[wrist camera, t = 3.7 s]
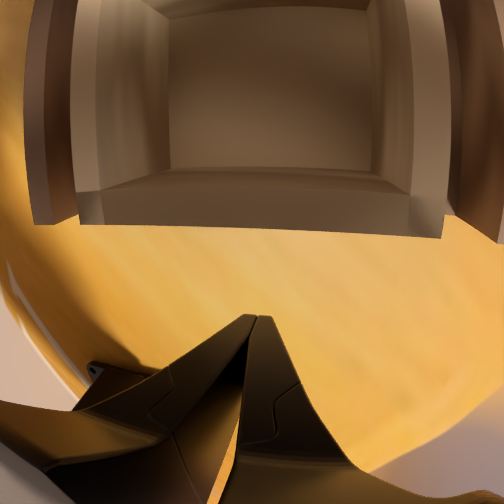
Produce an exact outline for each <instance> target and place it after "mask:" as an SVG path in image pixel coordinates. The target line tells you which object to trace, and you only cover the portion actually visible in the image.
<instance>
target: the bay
mask: <svg viewBox="0 0 504 504" xmlns="http://www.w3.org/2000/svg"><path fill="white" fill-rule="evenodd" d="M439 2H440V7H441V12H442V17H443V23H444V30H445V37H446V44H447V53H448V62H449V74H450V91H451V150H450V167H449V180H448V190H447V199H446V208H445V214H446V215H455V216H457V217H459V218H460V219H462V220H463V221H465V222H466V223H468V224H469V225H471V226H472V227H474V228H475V229H477V230H478V231H480V232H481V233H483V234H484V235H486V236H487V237H488V238H490V239H491V240H493V241H494V242H496V243H497V244H504V0H439ZM77 5H78V0H35V3H34V8H33V13H32V18H31V24H30V30H29V37H28V45H27V54H26V64H25V78H24V108H23V115H24V146H25V160H26V171H27V180H28V189H29V196H30V203H31V209H32V215H33V221H34V225H55V224H57V223H60V222H62V221H64V220H66V219H68V218H71V217H73V216H75V215H77V214H79V213H78V206H77V198H76V190H75V182H74V172H73V160H72V146H71V124H70V81H71V60H72V46H73V36H74V27H75V19H76V11H77Z"/></svg>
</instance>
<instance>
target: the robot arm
mask: <svg viewBox="0 0 504 504" xmlns="http://www.w3.org/2000/svg"><path fill="white" fill-rule="evenodd" d="M86 367H87V370H88V373H89V375H90V377H91V380H92V382H93V384H92V385H91V386H90V387H89V389H88V390H87V391H86V392H85V394H84V395H83V396H82V398H81V399H80V400H79V401H78V403H77V404H76V405H75V407H74V408H73V409H72V411H58V410H50V409H44V408H38V407H32V406H26V405H21V404H16V403H11V402H6V401H2V400H0V504H207V501H208V499H209V496H210V493H211V491H212V488H213V486H214V483H215V481H216V478H217V475H218V473H219V470H220V467H221V465H222V462H223V459H224V457H225V454H226V451H227V449H228V446H229V443H230V441H231V438H232V435H233V432H234V429H235V427H236V424H237V421H238V418H239V426H238V434H237V442H236V451H235V458H234V463H233V466H232V469H231V472H230V474H229V477H228V480H227V482H226V485H225V487H224V490H223V492H222V495H221V498H220V500H219V503H218V504H504V497H502V496H500V495H498V494H495V493H493V492H491V491H488V490H477V491H473V492H469V493H465V494H461V495H458V496H454V497H447V498H432V497H425V496H422V495H418V494H415V493H412V492H410V491H407V490H405V489H402V488H400V487H397V486H395V485H393V484H390V483H388V482H385V481H383V480H381V479H379V478H377V477H375V476H372V475H370V474H368V473H366V472H364V471H362V470H360V469H359V468H358V467H356V466H355V465H354V464H353V463H352V462H351V461H350V460H349V459H348V457H347V456H346V455H345V453H344V452H343V451H342V449H341V448H340V446H339V445H338V443H337V442H336V441H335V439H334V438H333V436H332V435H331V433H330V432H329V431H328V429H327V428H326V426H325V425H324V423H323V422H322V420H321V419H320V417H319V416H318V414H317V412H316V411H315V409H314V408H313V406H312V404H311V402H310V400H309V398H308V396H307V394H306V392H305V390H304V387H303V385H302V384H301V381H300V379H299V376H298V374H297V372H296V370H295V367H294V365H293V363H292V361H291V358H290V356H289V354H288V352H287V349H286V347H285V345H284V342H283V340H282V338H281V336H280V333H279V331H278V329H277V327H276V324H275V322H274V320H273V318H272V317H271V316H264V315H259V316H258V317H257V315H252V314H243V315H241V316H240V317H239V318H237V319H236V320H234V321H233V322H231V323H230V324H229V325H227V326H226V327H224V328H223V329H221V330H220V331H218V332H217V333H216V334H214V335H213V336H211V337H210V338H208V339H207V340H205V341H204V342H202V343H201V344H199V345H198V346H196V347H195V348H194V349H192V350H191V351H189V352H188V353H186V354H185V355H183V356H182V357H180V358H179V359H177V360H176V361H174V362H172V363H171V364H169V367H168V366H166V367H165V368H163V369H162V370H160V371H159V372H157V373H155V374H154V375H152V376H149V375H145V374H141V373H136V372H132V371H128V370H125V369H121V368H117V367H113V366H110V365H106V364H103V363H99V362H96V361H90V362H89V363H88V364H87V366H86ZM239 415H240V417H239Z"/></svg>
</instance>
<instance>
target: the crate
mask: <svg viewBox="0 0 504 504" xmlns="http://www.w3.org/2000/svg"><path fill="white" fill-rule="evenodd" d="M70 124H71V146H72V160H73V172H74V182H75V190H76V198H77V206H78V213H79V219H80V225H158V226H201V227H234V228H261V229H285V230H307V231H328V232H346V233H364V234H381V235H396V236H411V237H425V238H439V239H441V235H442V229H443V222H444V215H445V208H446V199H447V190H448V180H449V167H450V150H451V91H450V74H449V62H448V53H447V44H446V37H445V30H444V23H443V17H442V12H441V7H440V2H439V0H78V5H77V11H76V19H75V27H74V36H73V46H72V60H71V81H70Z"/></svg>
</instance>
